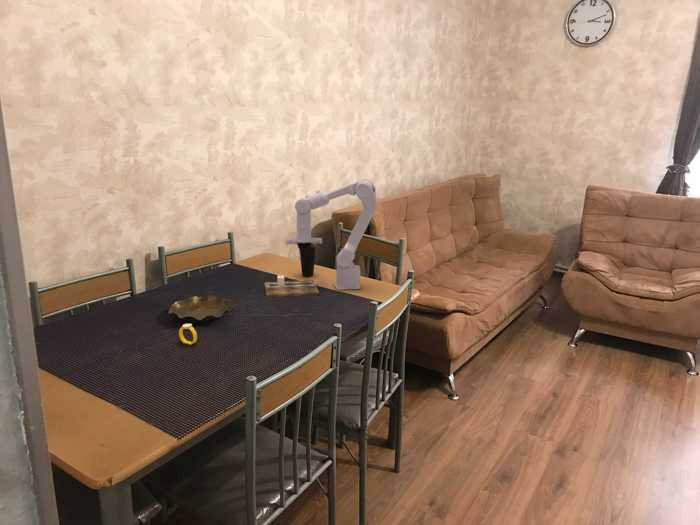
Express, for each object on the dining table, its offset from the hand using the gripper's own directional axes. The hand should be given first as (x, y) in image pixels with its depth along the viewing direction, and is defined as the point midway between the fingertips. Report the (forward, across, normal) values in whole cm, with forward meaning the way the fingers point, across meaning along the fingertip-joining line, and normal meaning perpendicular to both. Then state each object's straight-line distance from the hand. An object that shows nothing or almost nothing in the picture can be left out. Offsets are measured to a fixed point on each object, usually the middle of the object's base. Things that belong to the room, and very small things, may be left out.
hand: (304, 261), depth 223 cm
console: (+10, +6, +6) cm, 13 cm away
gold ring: (+10, +42, +53) cm, 68 cm away
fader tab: (+9, +10, +6) cm, 15 cm away
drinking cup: (+10, -3, -12) cm, 16 cm away
